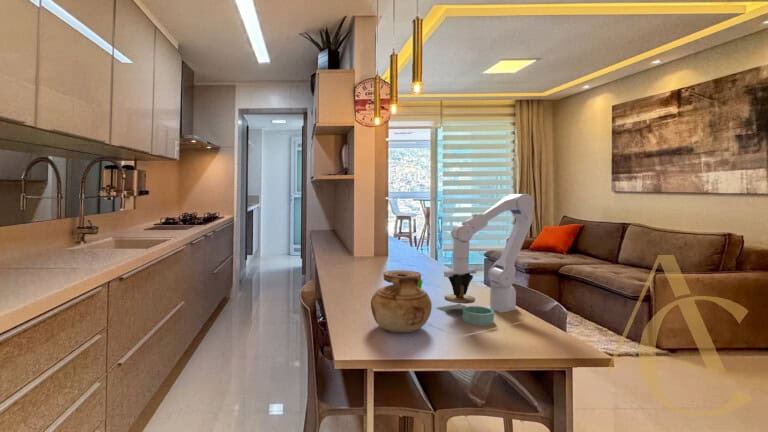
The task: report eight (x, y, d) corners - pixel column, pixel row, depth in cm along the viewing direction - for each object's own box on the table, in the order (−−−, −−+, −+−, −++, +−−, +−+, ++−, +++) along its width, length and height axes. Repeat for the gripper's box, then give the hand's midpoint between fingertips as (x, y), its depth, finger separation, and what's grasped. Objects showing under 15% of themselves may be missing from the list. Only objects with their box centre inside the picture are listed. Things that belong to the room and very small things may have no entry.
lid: (459, 294, 159) (460, 281, 159) (481, 301, 150) (482, 287, 150) (438, 297, 153) (438, 283, 153) (459, 304, 144) (460, 290, 144)
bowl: (477, 316, 145) (477, 304, 145) (499, 323, 137) (500, 311, 137) (456, 320, 140) (456, 308, 140) (478, 328, 132) (479, 316, 131)
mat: (459, 304, 160) (459, 303, 160) (482, 312, 150) (482, 311, 150) (435, 309, 153) (435, 307, 153) (458, 317, 143) (458, 316, 143)
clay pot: (354, 314, 134) (378, 256, 136) (402, 330, 141) (423, 275, 143) (377, 332, 116) (403, 265, 118) (430, 349, 123) (454, 286, 125)
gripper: (467, 254, 158) (466, 290, 159) (438, 257, 150) (437, 294, 151) (481, 257, 152) (480, 294, 153) (452, 260, 144) (451, 299, 145)
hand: (460, 294), depth 151 cm, fingers closed on lid, 3 cm apart
